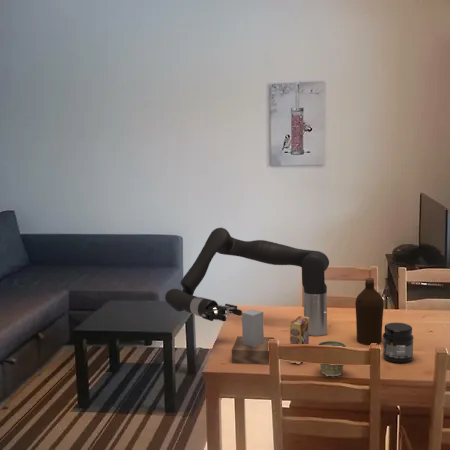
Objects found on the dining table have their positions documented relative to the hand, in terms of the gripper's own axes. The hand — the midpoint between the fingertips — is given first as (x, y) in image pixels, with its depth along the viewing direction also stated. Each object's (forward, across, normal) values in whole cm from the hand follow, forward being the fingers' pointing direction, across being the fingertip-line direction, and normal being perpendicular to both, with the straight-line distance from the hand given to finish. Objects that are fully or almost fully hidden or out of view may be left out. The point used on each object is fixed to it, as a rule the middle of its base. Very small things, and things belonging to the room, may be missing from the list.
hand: (233, 315), depth 231 cm
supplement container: (+51, +32, +14) cm, 62 cm away
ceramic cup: (+42, +7, +14) cm, 45 cm away
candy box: (+25, +8, +14) cm, 30 cm away
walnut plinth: (+10, 0, +14) cm, 17 cm away
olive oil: (+34, +41, +14) cm, 55 cm away
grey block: (+10, 0, +8) cm, 13 cm away
